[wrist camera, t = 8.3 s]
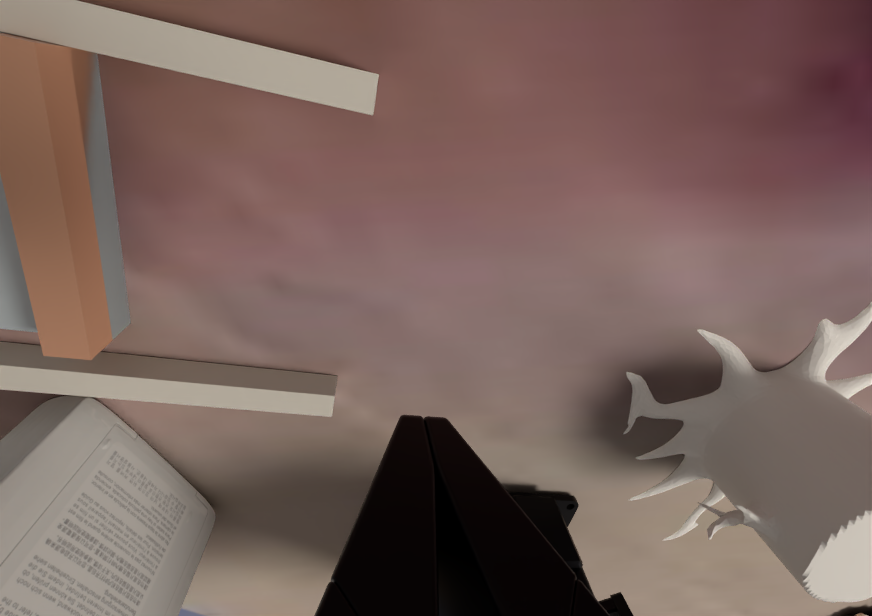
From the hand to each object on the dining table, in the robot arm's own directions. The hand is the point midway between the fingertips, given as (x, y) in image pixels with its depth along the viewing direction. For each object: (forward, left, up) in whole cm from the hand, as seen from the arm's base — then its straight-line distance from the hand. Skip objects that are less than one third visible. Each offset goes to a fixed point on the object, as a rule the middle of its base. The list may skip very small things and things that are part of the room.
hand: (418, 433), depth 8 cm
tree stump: (-8, -23, -12) cm, 27 cm away
